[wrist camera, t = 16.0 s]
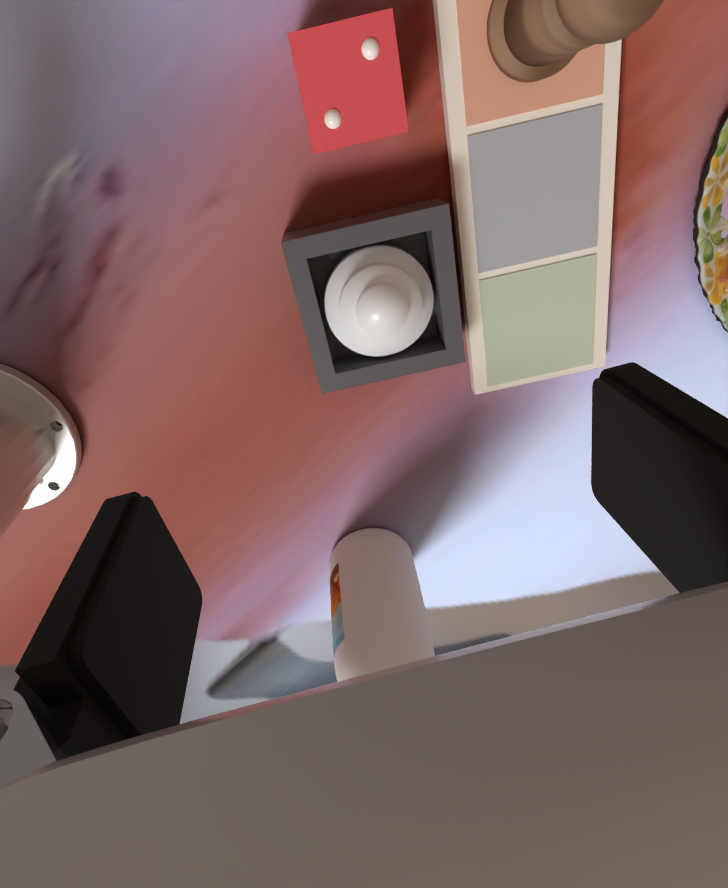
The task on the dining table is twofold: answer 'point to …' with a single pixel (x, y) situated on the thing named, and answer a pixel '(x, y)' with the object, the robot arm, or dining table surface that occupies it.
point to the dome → (378, 300)
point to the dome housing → (404, 226)
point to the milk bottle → (376, 604)
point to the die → (350, 80)
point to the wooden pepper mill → (557, 31)
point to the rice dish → (713, 227)
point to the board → (529, 202)
